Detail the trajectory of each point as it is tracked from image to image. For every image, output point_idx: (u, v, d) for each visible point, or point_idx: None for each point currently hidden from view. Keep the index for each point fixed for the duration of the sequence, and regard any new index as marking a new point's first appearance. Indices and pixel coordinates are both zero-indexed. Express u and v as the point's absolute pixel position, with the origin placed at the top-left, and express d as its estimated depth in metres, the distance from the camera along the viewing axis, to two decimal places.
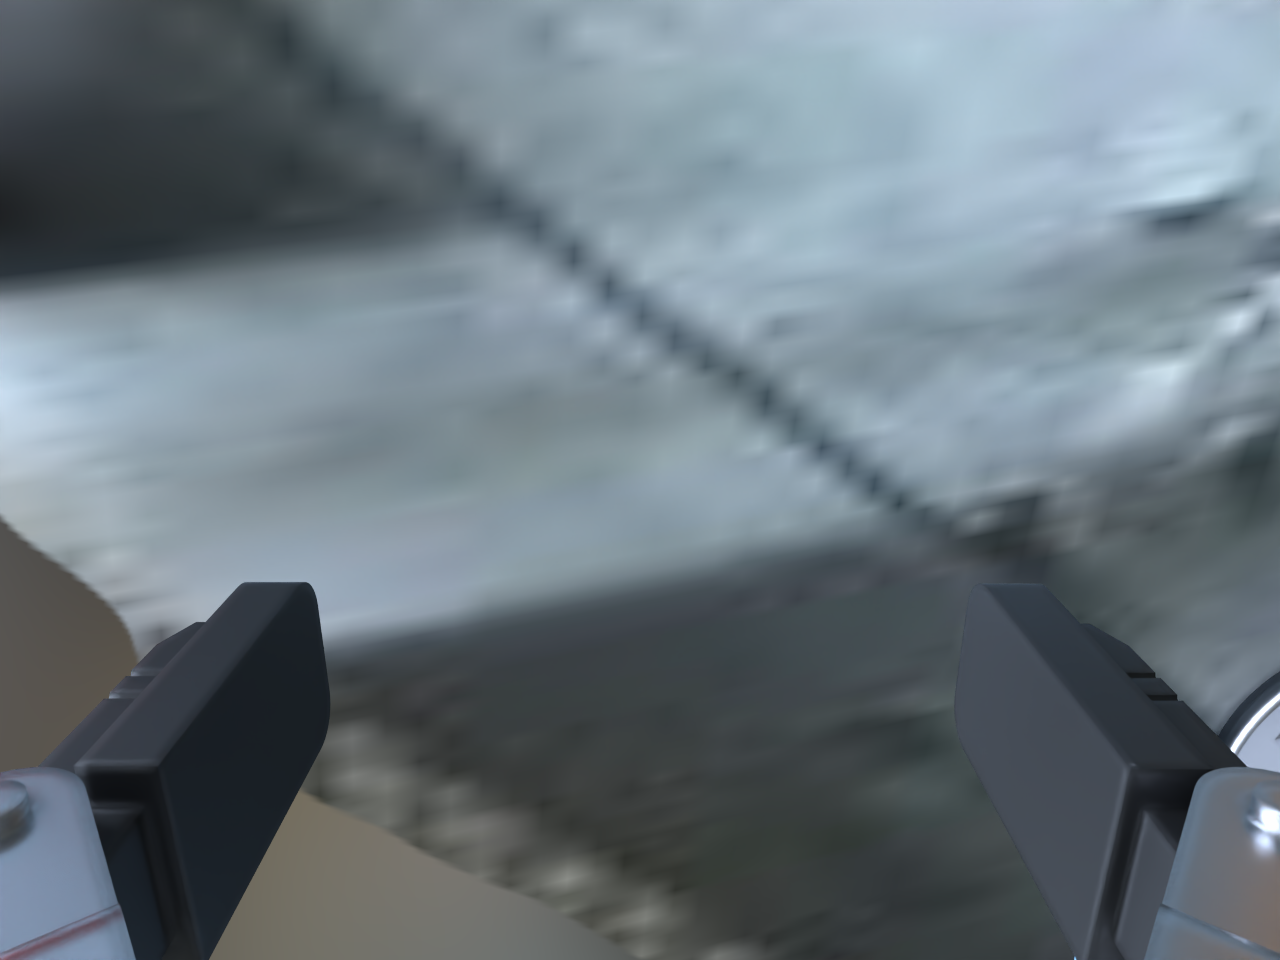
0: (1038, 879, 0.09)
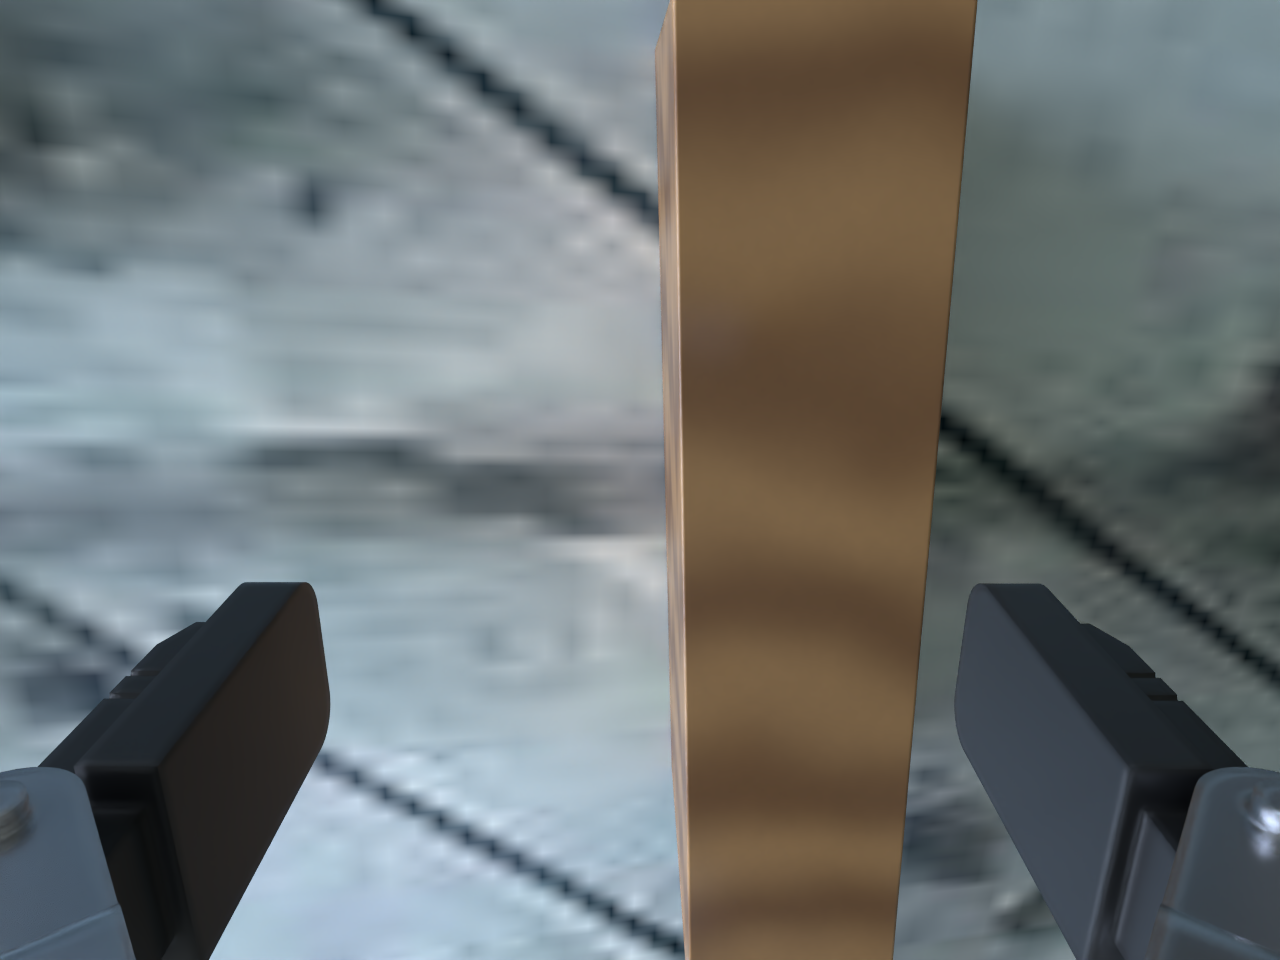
0: (1038, 879, 0.09)
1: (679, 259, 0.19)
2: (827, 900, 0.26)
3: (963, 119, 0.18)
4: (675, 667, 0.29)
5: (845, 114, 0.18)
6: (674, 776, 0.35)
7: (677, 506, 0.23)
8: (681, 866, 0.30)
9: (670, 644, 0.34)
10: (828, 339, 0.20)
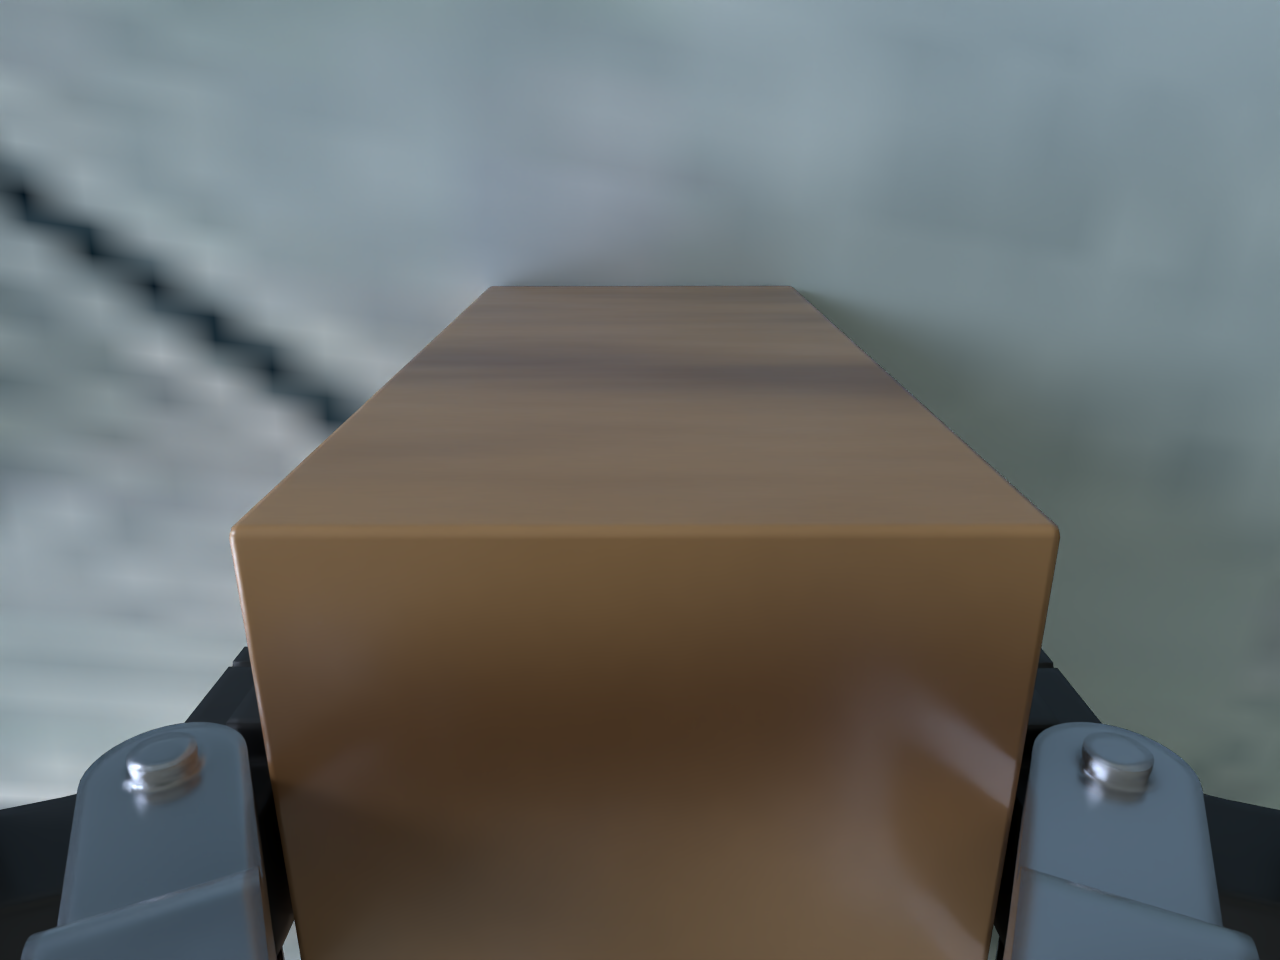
0: None
1: None
2: None
3: (1003, 817, 0.07)
4: None
5: (704, 802, 0.07)
6: None
7: None
8: None
9: None
10: None
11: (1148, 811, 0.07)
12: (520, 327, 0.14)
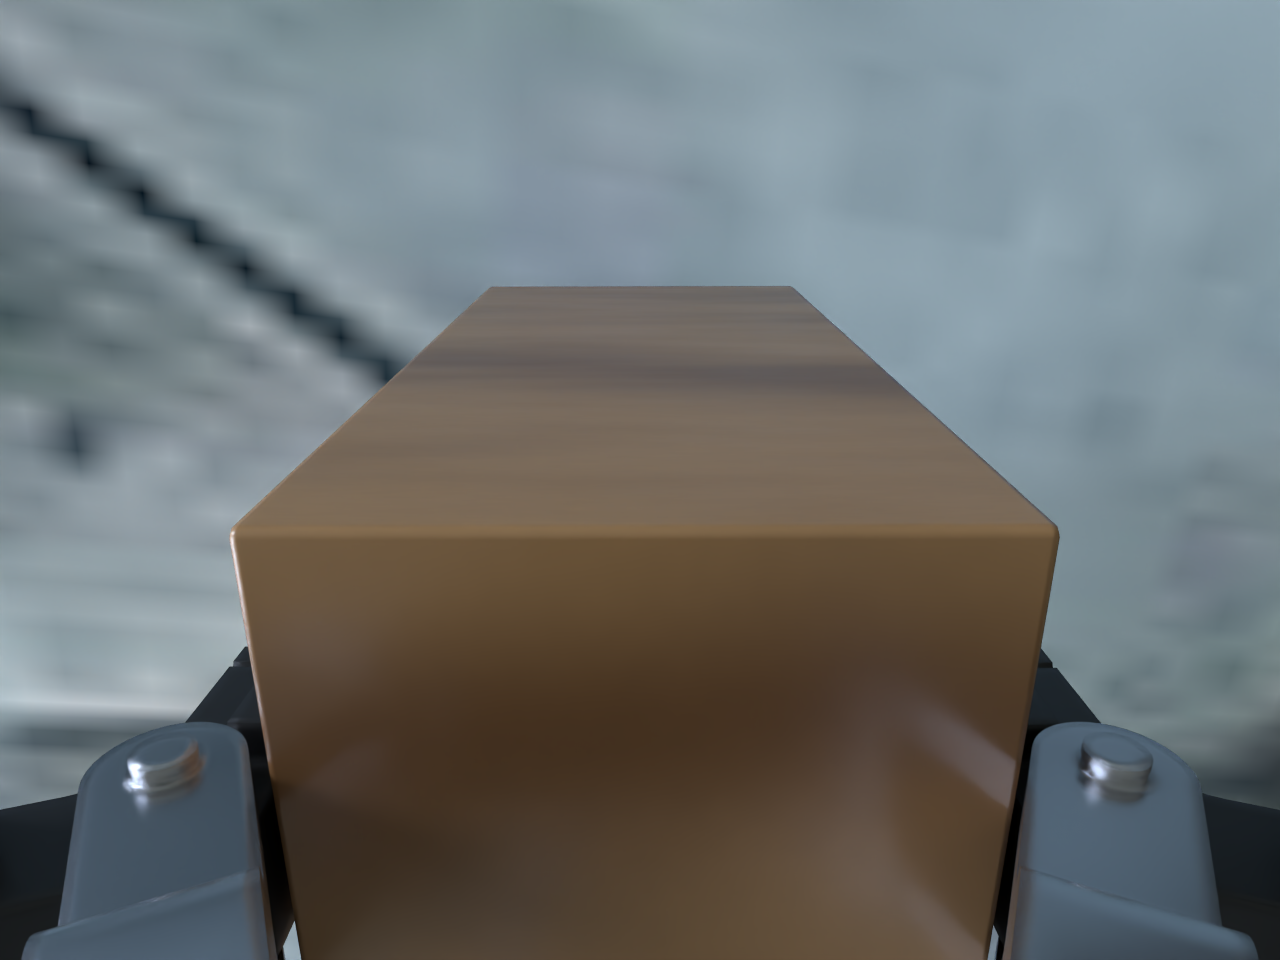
0: None
1: None
2: None
3: (1003, 817, 0.07)
4: None
5: (704, 802, 0.07)
6: None
7: None
8: None
9: None
10: None
11: (1147, 811, 0.07)
12: (520, 327, 0.14)
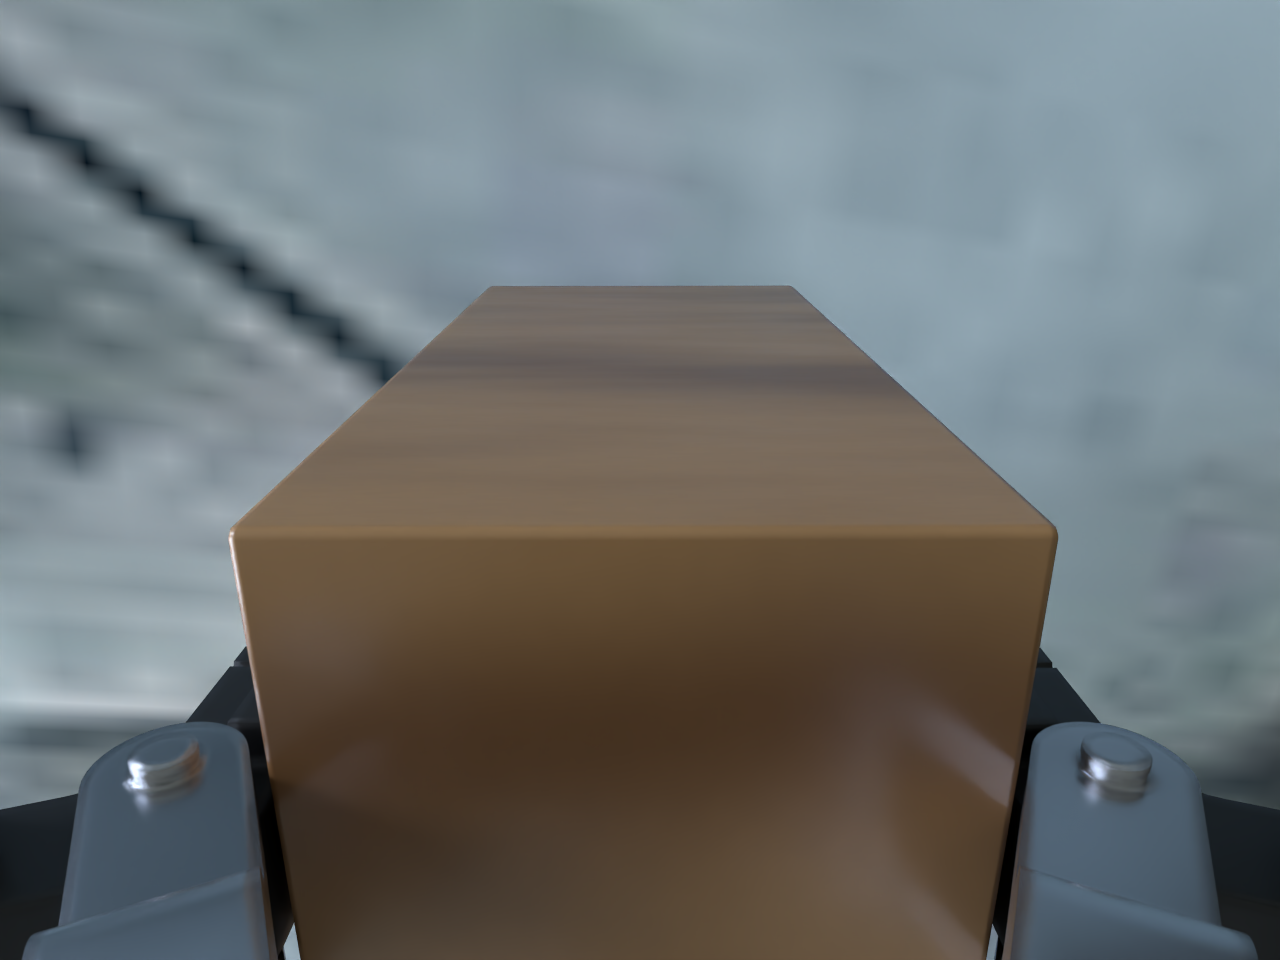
0: None
1: None
2: None
3: (1002, 817, 0.07)
4: None
5: (704, 801, 0.07)
6: None
7: None
8: None
9: None
10: None
11: (1146, 811, 0.07)
12: (520, 327, 0.14)
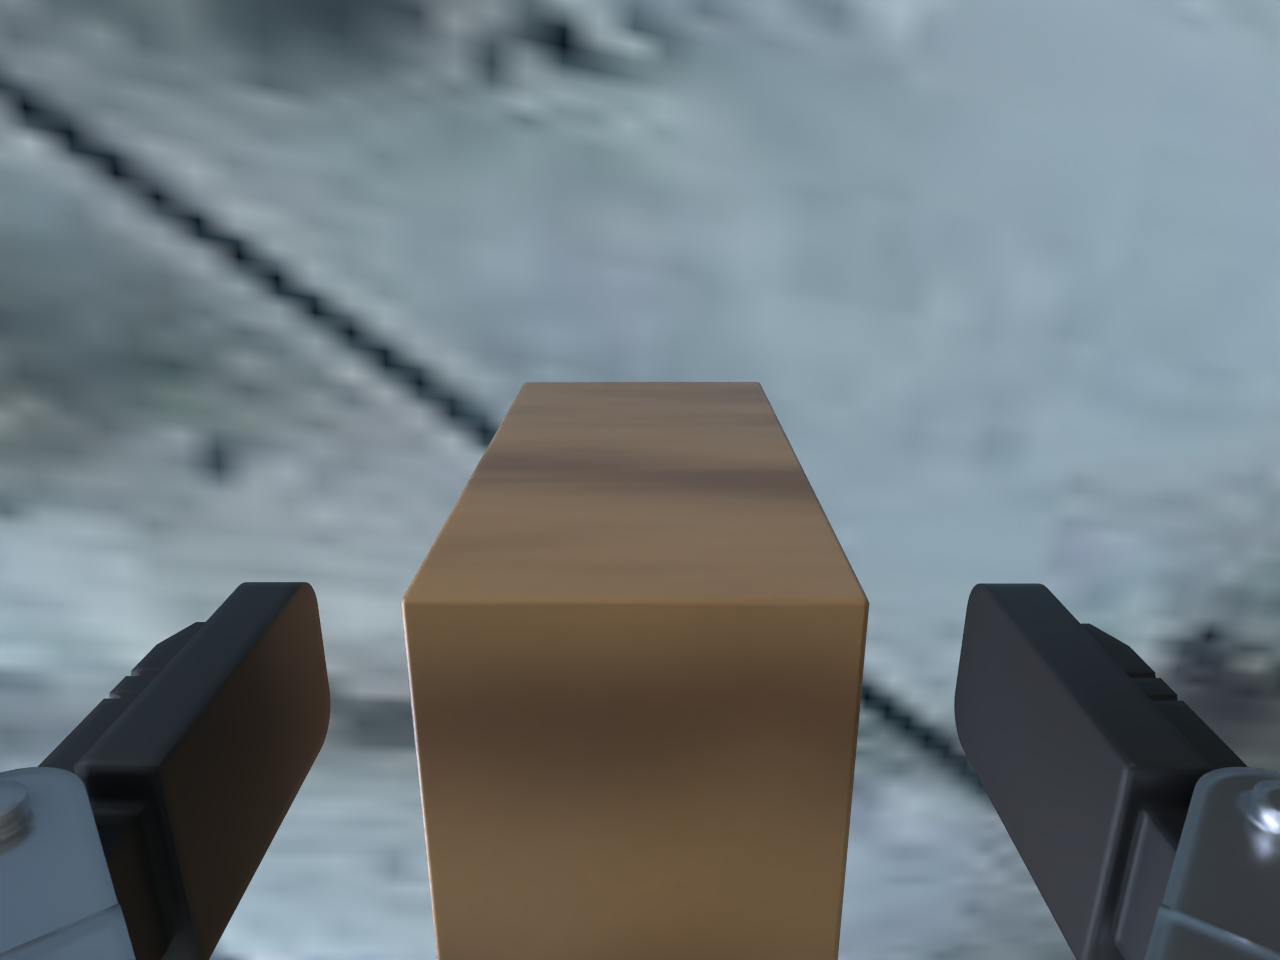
0: (1038, 879, 0.09)
1: (436, 917, 0.13)
2: None
3: (849, 768, 0.12)
4: None
5: (670, 757, 0.12)
6: None
7: None
8: None
9: None
10: None
11: None
12: (552, 430, 0.19)
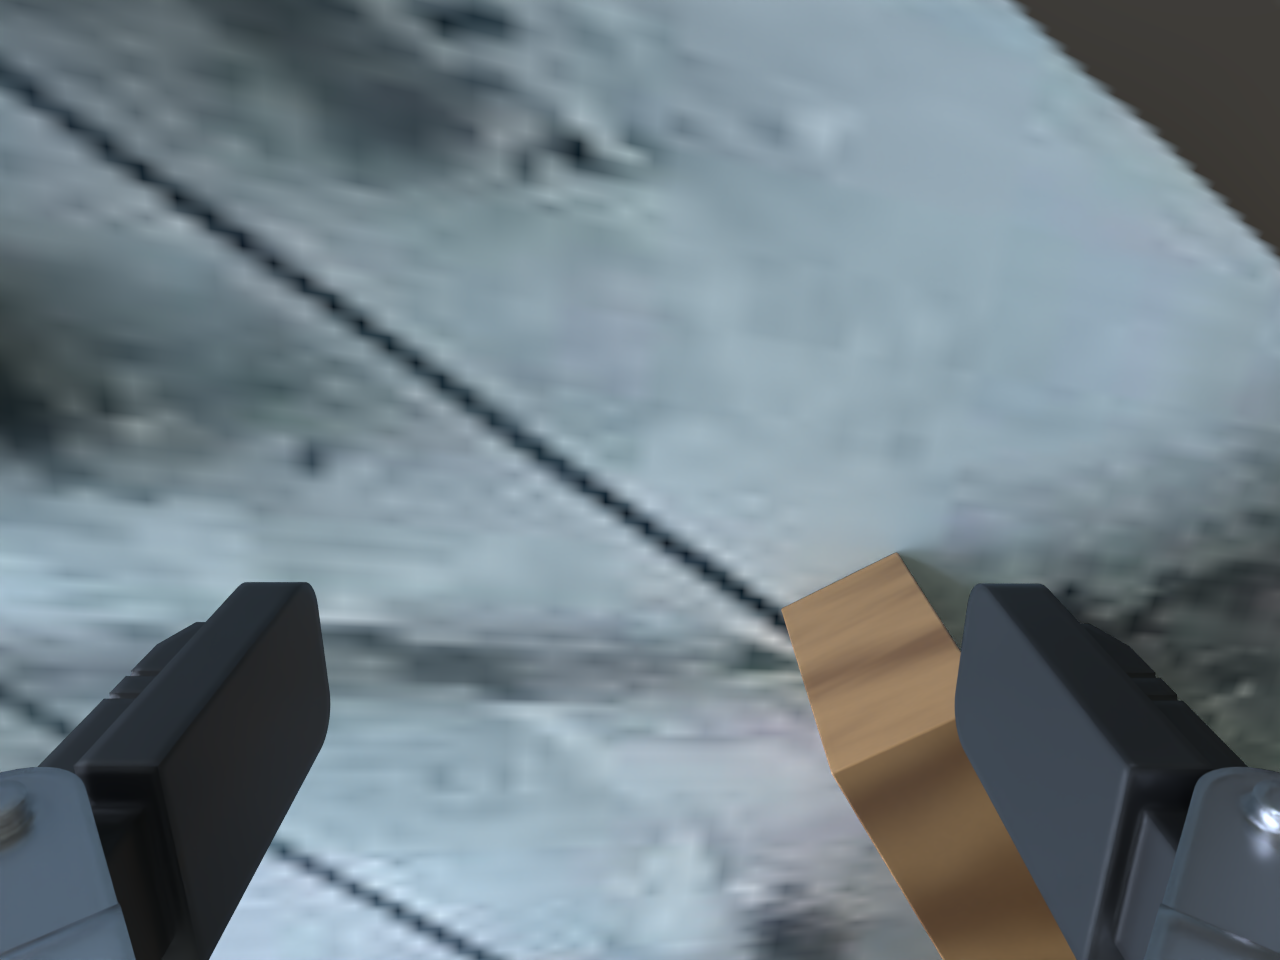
0: (1038, 879, 0.09)
1: (894, 874, 0.33)
2: None
3: None
4: None
5: (950, 781, 0.31)
6: None
7: None
8: None
9: None
10: (996, 875, 0.33)
11: None
12: (820, 645, 0.38)
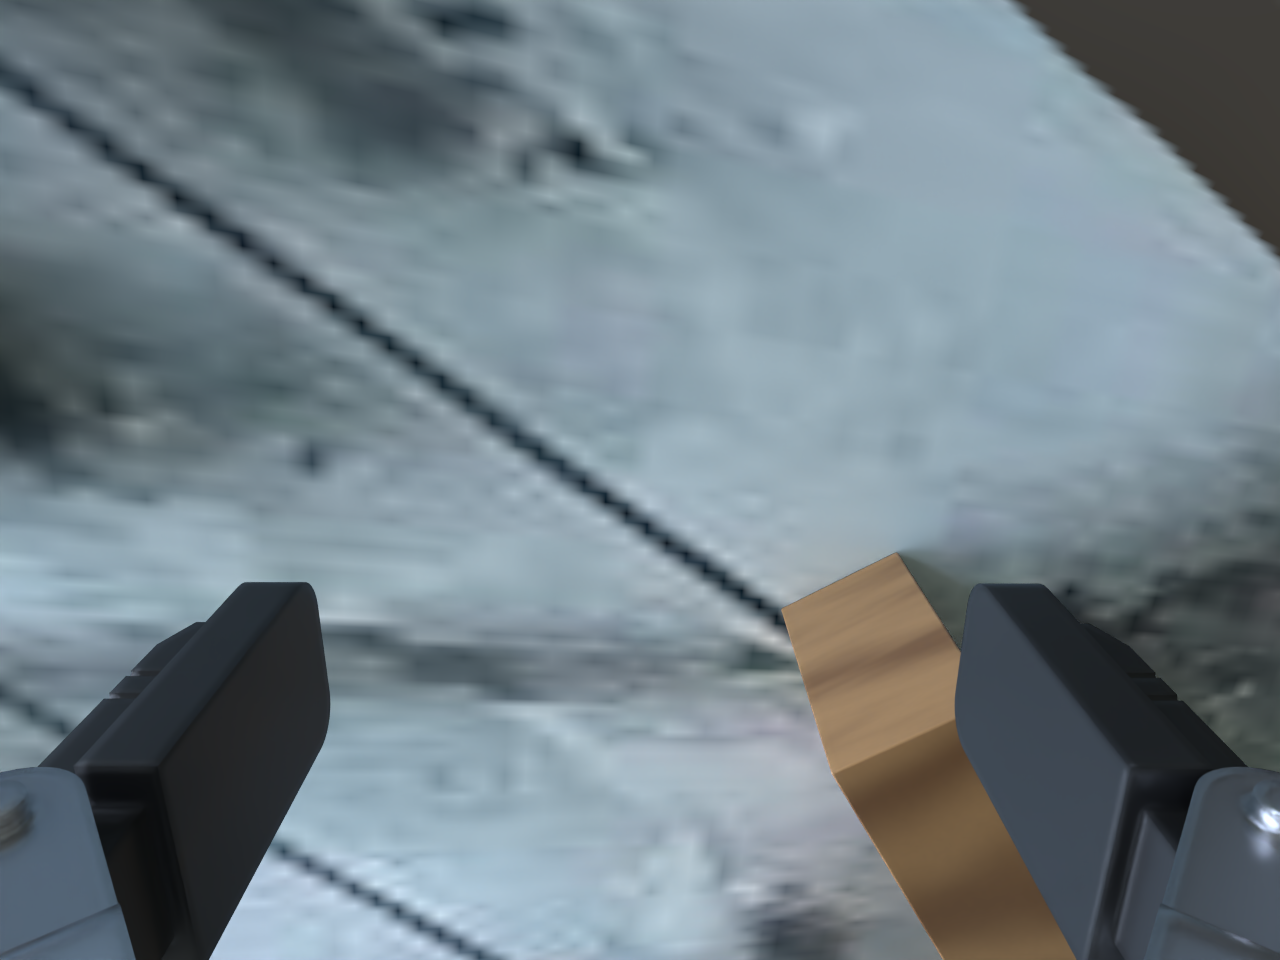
0: (1038, 879, 0.09)
1: (894, 874, 0.33)
2: None
3: None
4: None
5: (950, 781, 0.31)
6: None
7: None
8: None
9: None
10: (996, 875, 0.33)
11: None
12: (820, 645, 0.38)
